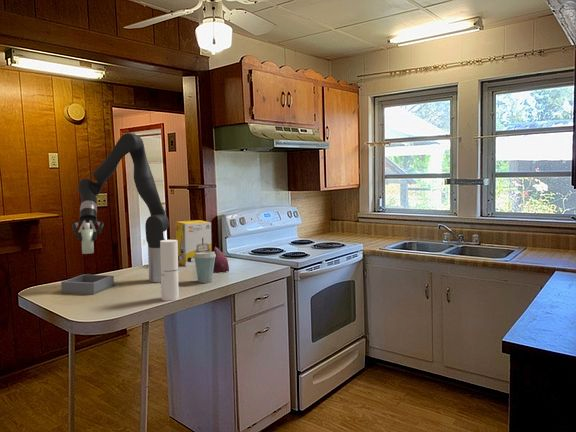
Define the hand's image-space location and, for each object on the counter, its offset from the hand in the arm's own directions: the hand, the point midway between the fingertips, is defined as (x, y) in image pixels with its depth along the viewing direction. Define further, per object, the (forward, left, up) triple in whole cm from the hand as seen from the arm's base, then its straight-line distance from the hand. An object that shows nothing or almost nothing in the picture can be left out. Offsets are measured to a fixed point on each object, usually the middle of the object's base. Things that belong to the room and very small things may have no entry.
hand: (87, 240), depth 206 cm
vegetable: (-47, -50, -23) cm, 72 cm away
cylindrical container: (-44, +8, -23) cm, 50 cm away
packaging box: (-24, -69, -23) cm, 77 cm away
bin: (0, 0, -23) cm, 23 cm away
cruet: (+1, -2, -6) cm, 6 cm away
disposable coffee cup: (-48, -24, -23) cm, 58 cm away
